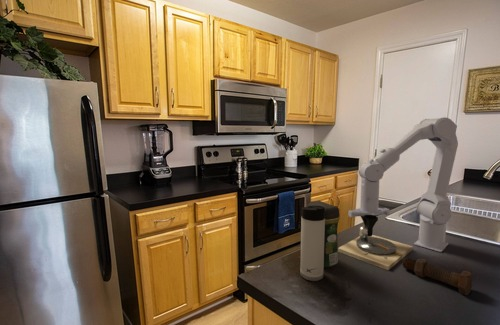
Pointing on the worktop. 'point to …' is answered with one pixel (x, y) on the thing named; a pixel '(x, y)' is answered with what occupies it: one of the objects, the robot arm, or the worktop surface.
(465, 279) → the bolt
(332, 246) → the coffee jar
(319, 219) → the travel mug
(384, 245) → the dial
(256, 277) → the worktop surface
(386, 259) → the board
